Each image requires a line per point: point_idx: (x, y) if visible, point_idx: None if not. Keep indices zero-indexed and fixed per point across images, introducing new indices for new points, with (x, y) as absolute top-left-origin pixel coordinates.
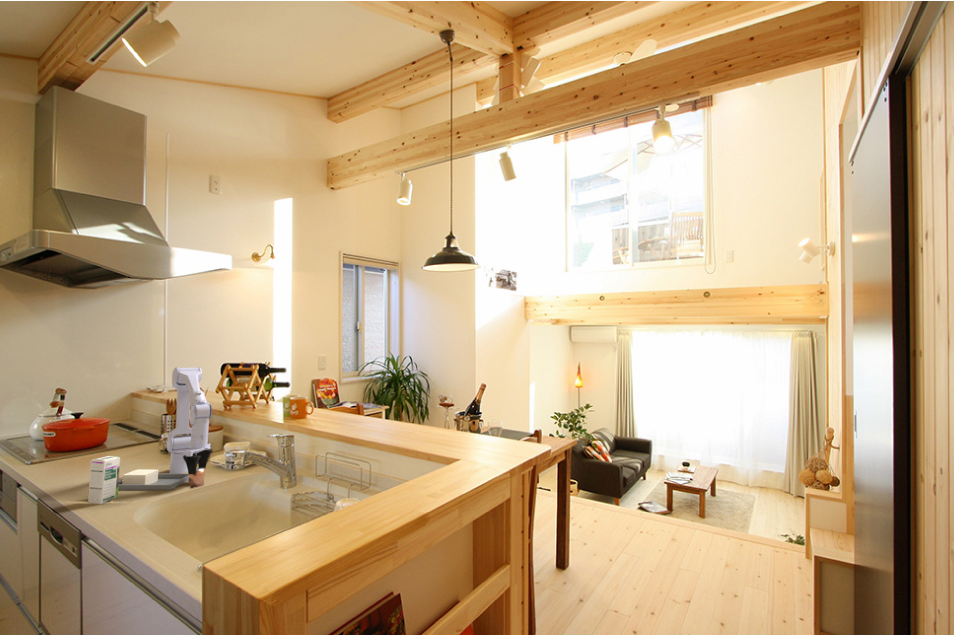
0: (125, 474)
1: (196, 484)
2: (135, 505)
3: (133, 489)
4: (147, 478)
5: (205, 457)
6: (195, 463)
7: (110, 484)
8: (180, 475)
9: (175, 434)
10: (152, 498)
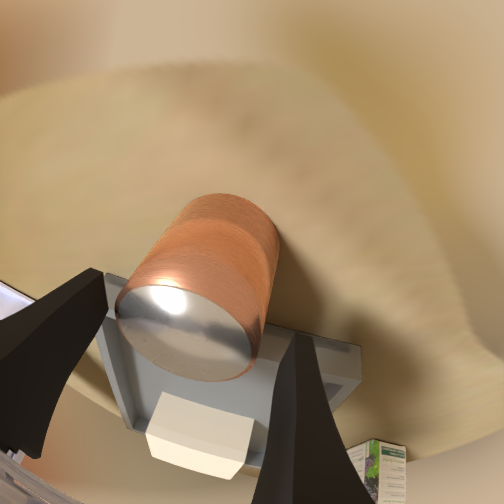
0: (223, 477)
1: (275, 247)
2: (482, 393)
3: None
4: (232, 442)
5: (27, 363)
6: (346, 453)
7: (392, 492)
8: (111, 344)
9: None
10: (429, 379)
